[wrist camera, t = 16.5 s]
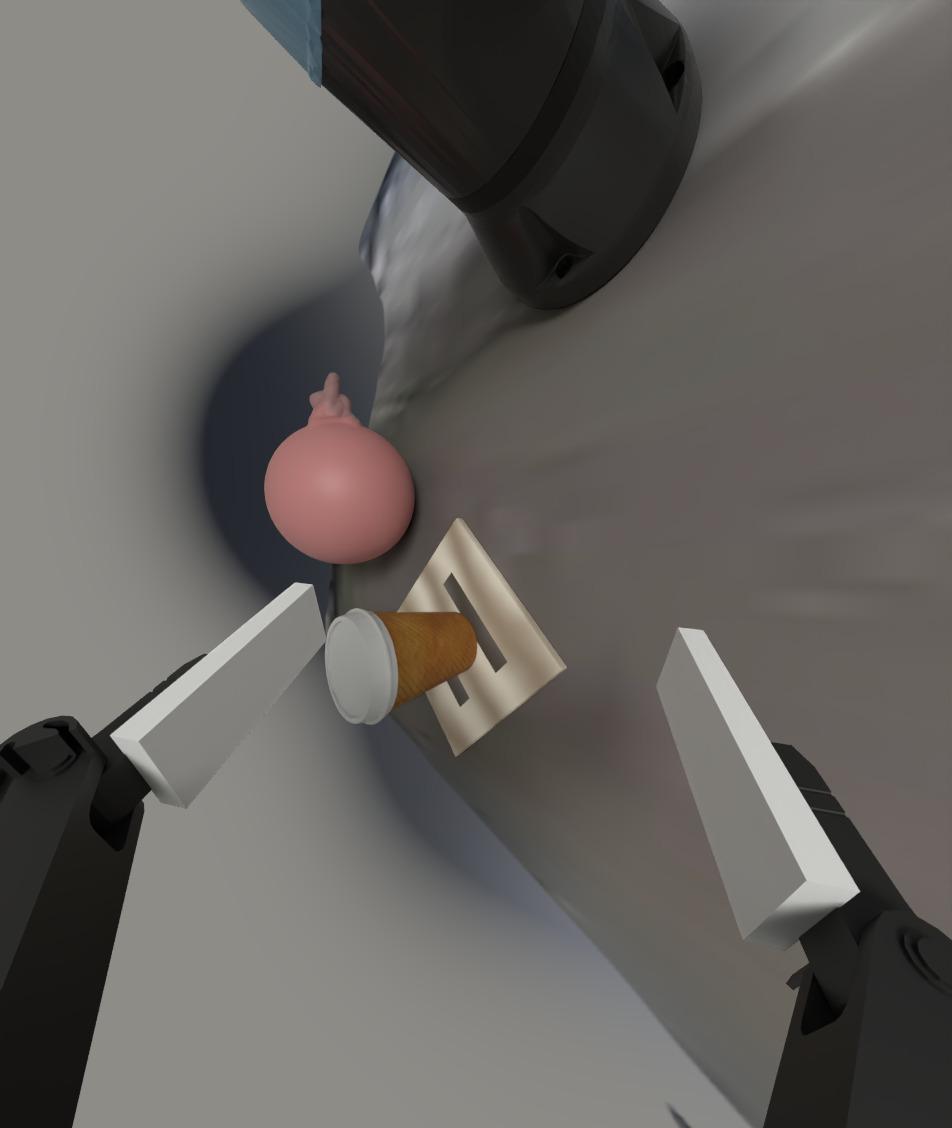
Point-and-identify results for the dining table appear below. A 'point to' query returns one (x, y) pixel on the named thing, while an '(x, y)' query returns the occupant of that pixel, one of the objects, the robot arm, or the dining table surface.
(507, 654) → the board
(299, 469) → the balloon
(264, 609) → the robot arm
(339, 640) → the disposable coffee cup
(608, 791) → the dining table surface
